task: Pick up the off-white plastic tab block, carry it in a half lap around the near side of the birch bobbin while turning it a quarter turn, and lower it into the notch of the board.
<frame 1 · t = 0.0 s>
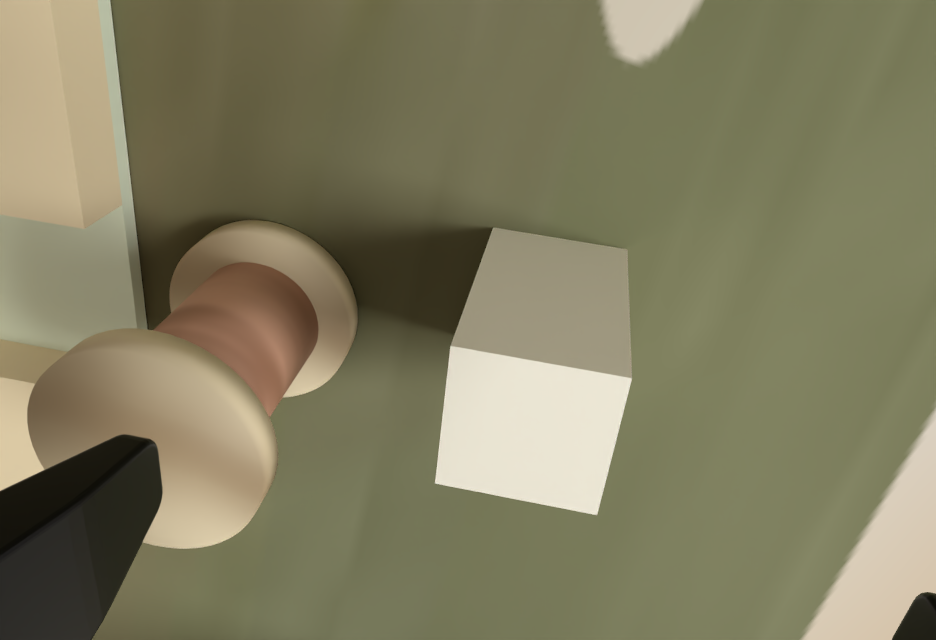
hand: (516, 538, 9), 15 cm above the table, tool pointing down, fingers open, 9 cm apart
notched board: (17, 260, 27), on the table
bobbin: (270, 305, 26), on the table
tab block: (549, 297, 24), on the table
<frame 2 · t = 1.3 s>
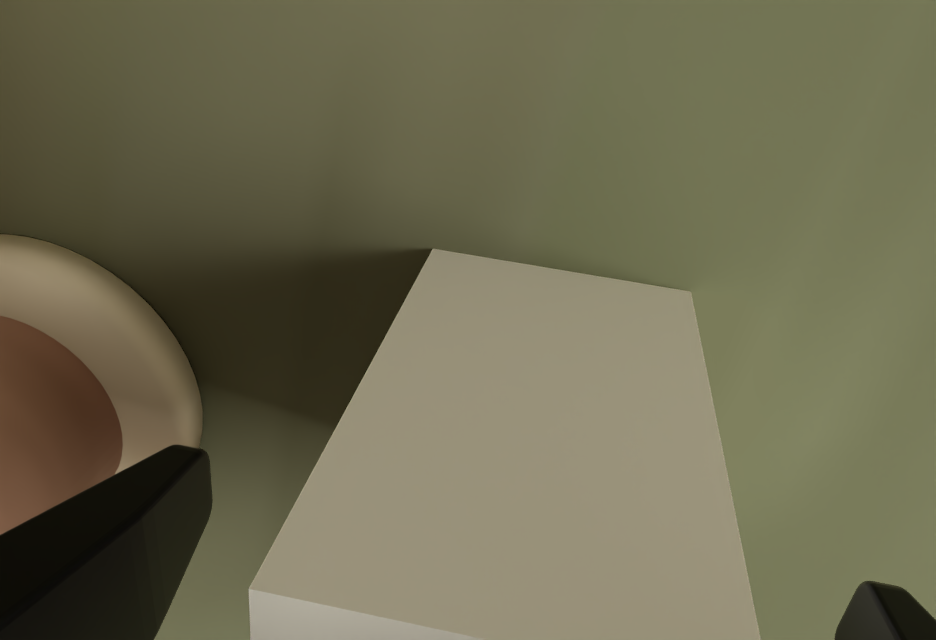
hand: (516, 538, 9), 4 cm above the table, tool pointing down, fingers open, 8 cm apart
bobbin: (51, 383, 15), on the table
tab block: (540, 378, 13), on the table
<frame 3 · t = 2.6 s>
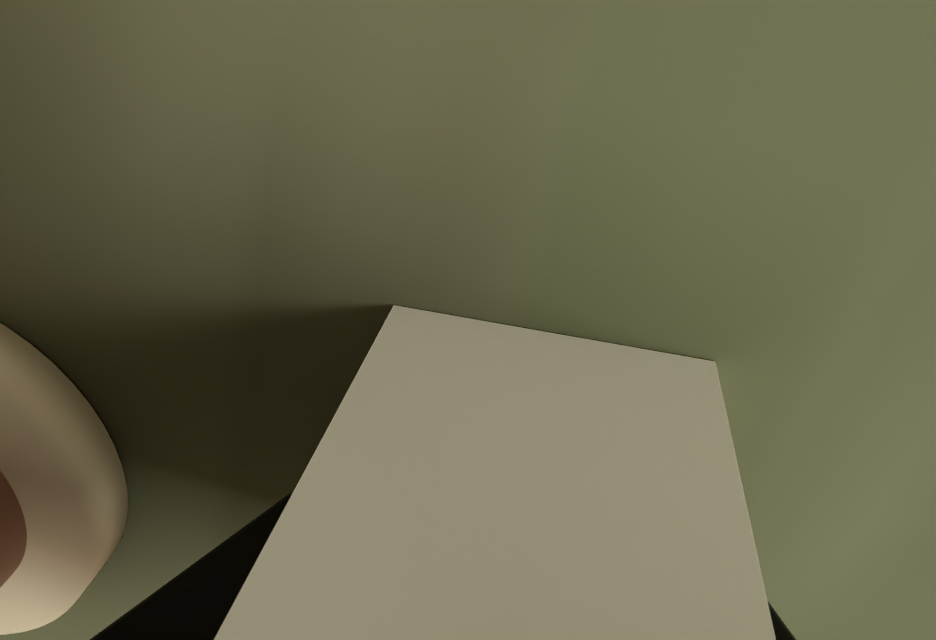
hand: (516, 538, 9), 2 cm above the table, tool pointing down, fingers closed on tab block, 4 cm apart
tab block: (527, 458, 11), on the table, touching gripper
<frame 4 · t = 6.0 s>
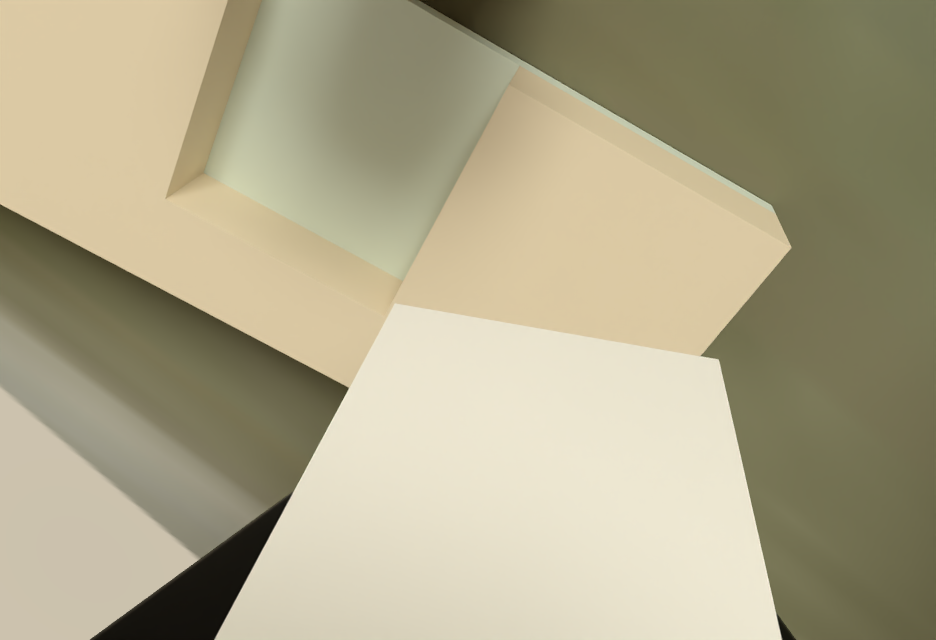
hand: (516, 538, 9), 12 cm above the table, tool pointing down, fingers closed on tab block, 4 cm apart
notched board: (339, 158, 20), on the table
tab block: (530, 457, 11), point 11 cm above the table, touching gripper
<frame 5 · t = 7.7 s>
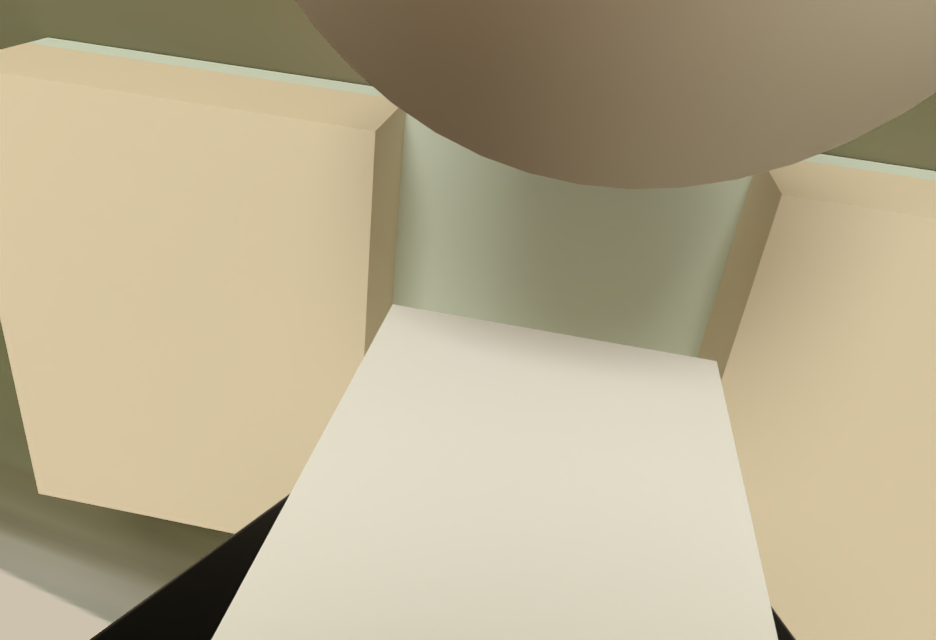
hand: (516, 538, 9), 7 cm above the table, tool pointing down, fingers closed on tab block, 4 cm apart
notched board: (540, 336, 16), on the table
tab block: (527, 459, 10), point 5 cm above the table, touching gripper
when the fingers open (3 cm above the table, at t = 9.2 s): tab block drops 1 cm, resting on notched board.
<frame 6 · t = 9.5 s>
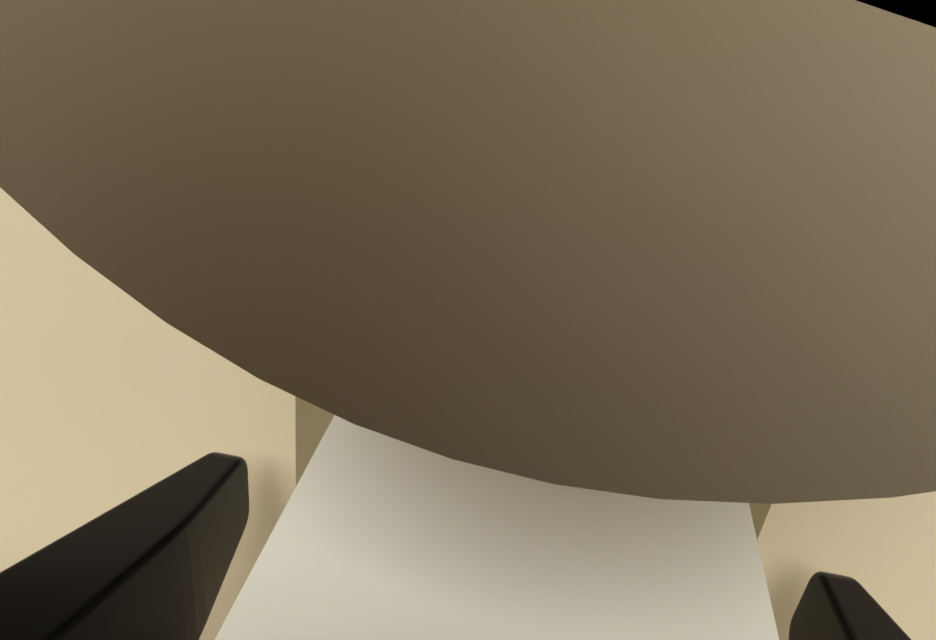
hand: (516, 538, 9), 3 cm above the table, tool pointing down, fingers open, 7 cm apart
notched board: (526, 440, 13), on the table
tab block: (536, 401, 12), point 1 cm above the table, touching notched board
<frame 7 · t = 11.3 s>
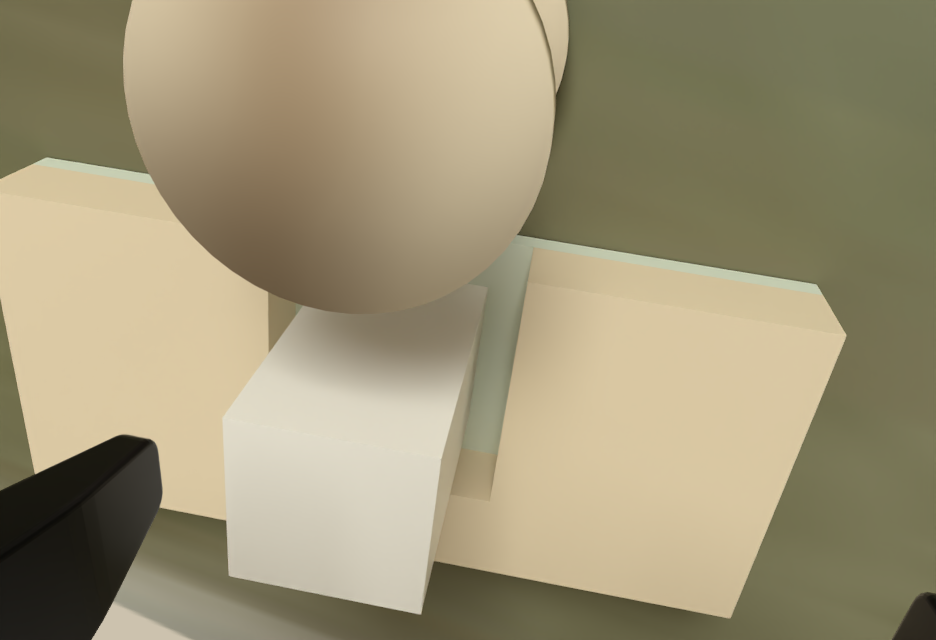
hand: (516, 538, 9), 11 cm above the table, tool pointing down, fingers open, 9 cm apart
notched board: (404, 366, 22), on the table
bobbin: (435, 34, 18), on the table
tab block: (405, 340, 21), point 1 cm above the table, touching notched board
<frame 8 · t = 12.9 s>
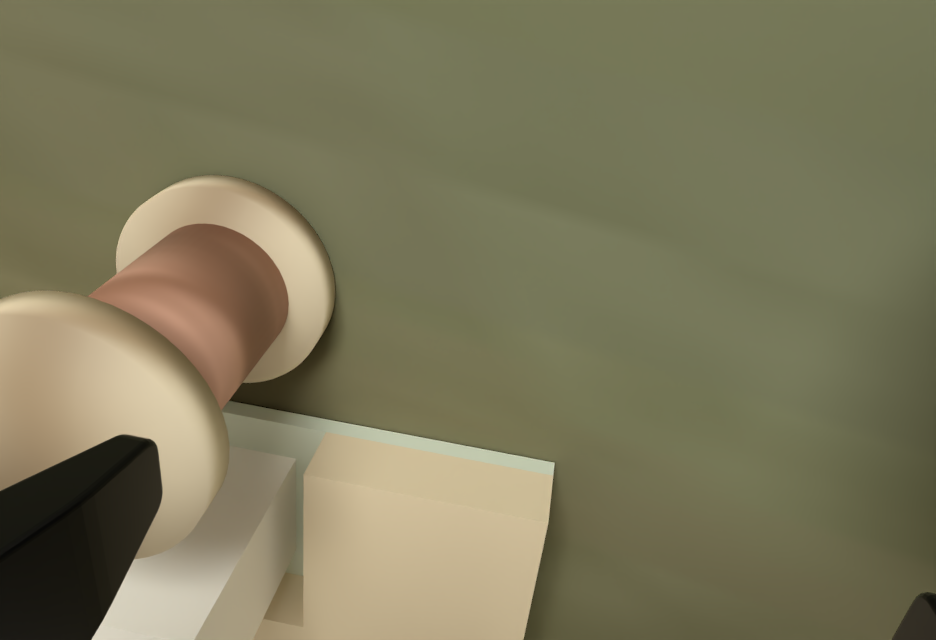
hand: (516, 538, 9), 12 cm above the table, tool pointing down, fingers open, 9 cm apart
notched board: (245, 508, 27), on the table
bobbin: (234, 275, 22), on the table
tab block: (237, 494, 26), point 1 cm above the table, touching notched board
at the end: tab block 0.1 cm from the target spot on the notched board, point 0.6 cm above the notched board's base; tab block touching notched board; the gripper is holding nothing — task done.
